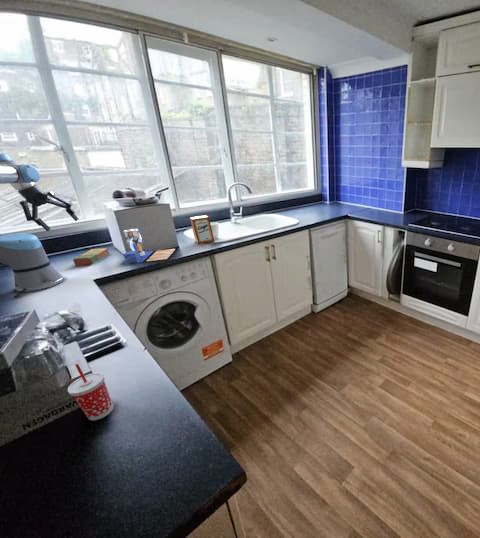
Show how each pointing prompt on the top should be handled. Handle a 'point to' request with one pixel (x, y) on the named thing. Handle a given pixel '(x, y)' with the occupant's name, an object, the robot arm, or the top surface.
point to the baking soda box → (202, 229)
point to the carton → (90, 257)
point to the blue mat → (142, 257)
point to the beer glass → (134, 241)
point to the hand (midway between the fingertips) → (63, 225)
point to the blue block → (132, 256)
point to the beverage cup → (91, 395)
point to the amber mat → (161, 254)
